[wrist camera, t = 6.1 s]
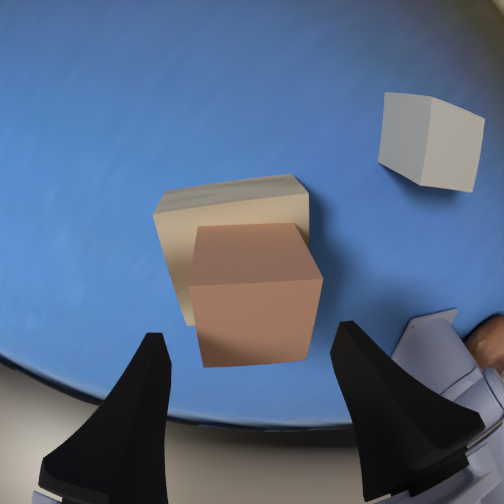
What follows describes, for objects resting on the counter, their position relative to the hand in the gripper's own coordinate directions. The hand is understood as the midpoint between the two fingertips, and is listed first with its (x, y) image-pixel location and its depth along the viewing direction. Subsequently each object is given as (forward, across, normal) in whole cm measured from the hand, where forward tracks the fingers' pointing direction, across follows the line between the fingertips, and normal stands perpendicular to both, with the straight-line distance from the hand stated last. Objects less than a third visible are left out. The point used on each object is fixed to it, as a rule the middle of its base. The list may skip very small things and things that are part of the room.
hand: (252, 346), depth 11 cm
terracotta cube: (+6, 0, 0) cm, 6 cm away
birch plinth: (+10, 0, 0) cm, 10 cm away
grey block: (+10, -12, -8) cm, 17 cm away
